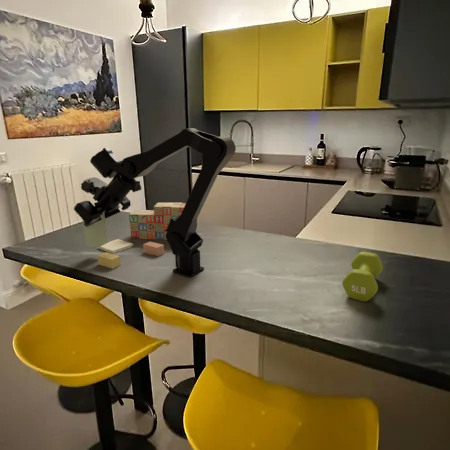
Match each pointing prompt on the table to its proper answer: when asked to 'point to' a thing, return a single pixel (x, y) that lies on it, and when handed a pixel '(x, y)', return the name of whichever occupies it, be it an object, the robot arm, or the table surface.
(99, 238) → the sage brick
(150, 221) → the stack of blocks
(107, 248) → the cream square slab
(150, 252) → the terracotta brick
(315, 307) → the table surface
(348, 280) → the dumbbell
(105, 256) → the ochre brick
